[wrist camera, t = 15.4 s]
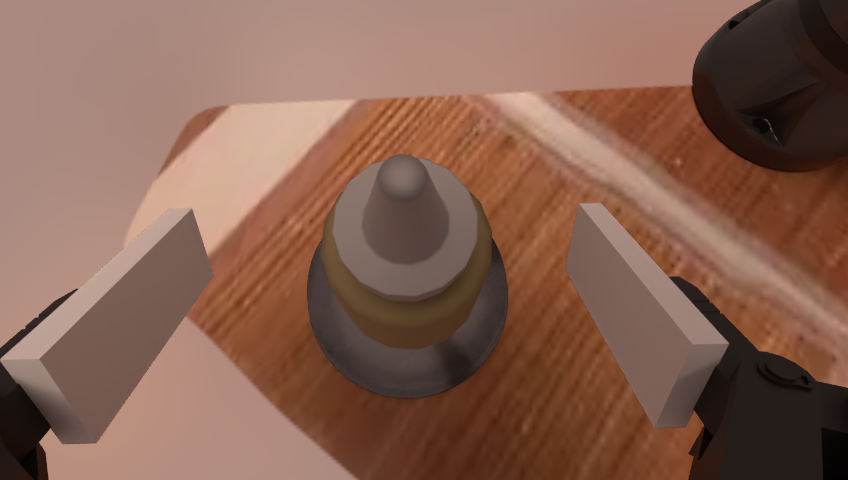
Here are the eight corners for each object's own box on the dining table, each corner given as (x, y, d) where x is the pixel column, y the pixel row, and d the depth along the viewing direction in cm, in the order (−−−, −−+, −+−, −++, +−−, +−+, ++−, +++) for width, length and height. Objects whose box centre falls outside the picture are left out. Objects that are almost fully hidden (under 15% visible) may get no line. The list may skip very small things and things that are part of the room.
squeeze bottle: (399, 202, 28) (374, -27, 11) (496, 273, 27) (645, 148, 10) (322, 297, 26) (143, 209, 9) (422, 376, 25) (440, 451, 8)
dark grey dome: (498, 199, 34) (512, 175, 29) (513, 393, 30) (531, 403, 25) (314, 202, 33) (297, 178, 28) (306, 399, 30) (285, 411, 25)
